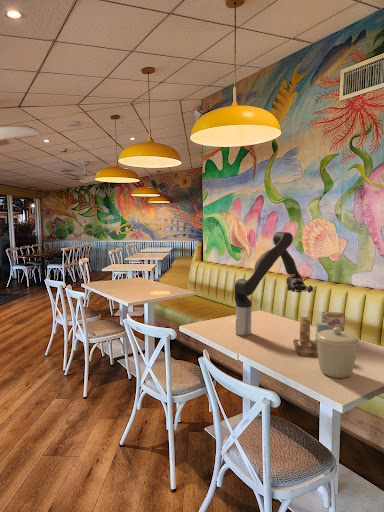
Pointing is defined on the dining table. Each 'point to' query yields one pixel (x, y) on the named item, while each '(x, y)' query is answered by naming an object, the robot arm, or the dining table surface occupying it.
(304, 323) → the oak post
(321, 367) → the canister
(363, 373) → the dining table surface
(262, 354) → the dining table surface
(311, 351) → the frame base
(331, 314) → the candy bar box
